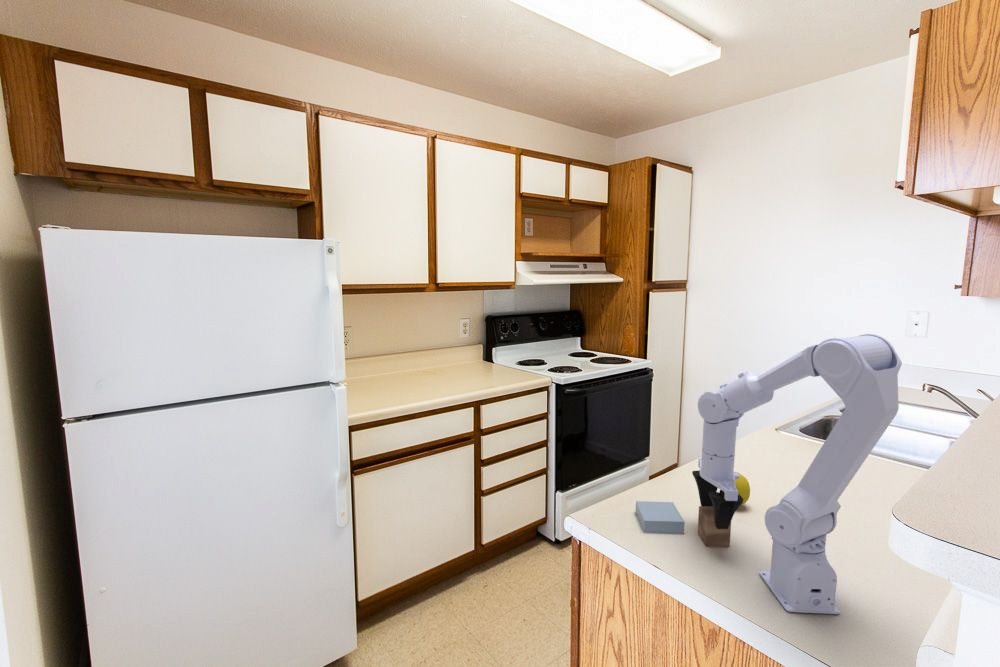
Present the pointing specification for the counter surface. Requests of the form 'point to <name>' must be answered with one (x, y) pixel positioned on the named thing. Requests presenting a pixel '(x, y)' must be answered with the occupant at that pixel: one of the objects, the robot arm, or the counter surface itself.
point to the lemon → (743, 488)
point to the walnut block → (711, 529)
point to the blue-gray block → (659, 517)
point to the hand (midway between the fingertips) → (714, 517)
